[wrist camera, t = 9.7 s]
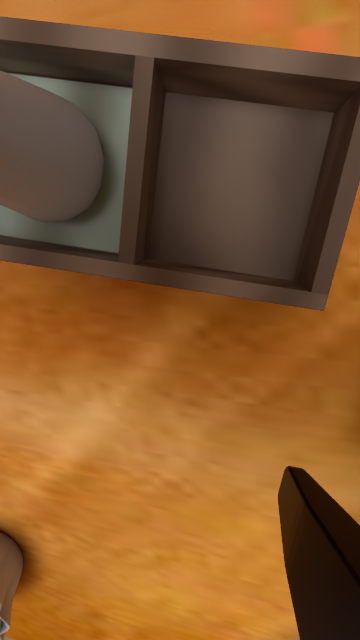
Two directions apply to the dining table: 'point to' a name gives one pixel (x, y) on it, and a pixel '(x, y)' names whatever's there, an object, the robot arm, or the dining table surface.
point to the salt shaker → (46, 153)
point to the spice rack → (198, 160)
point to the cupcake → (8, 579)
